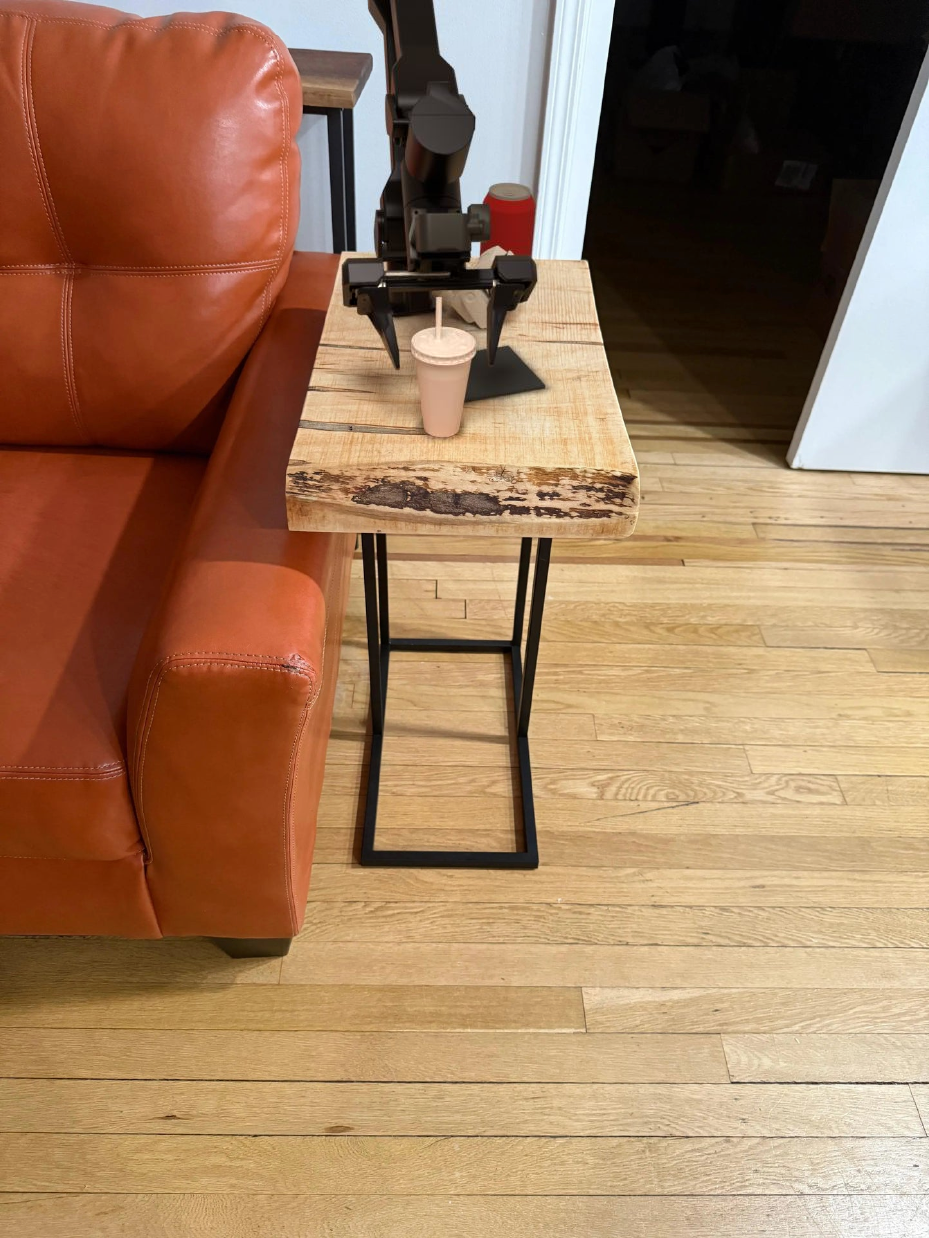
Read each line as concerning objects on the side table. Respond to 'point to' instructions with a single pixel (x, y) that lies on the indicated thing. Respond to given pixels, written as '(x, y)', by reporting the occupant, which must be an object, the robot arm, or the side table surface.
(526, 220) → the beverage can
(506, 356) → the coaster
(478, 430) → the side table surface
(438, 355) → the smoothie
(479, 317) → the tape dispenser
